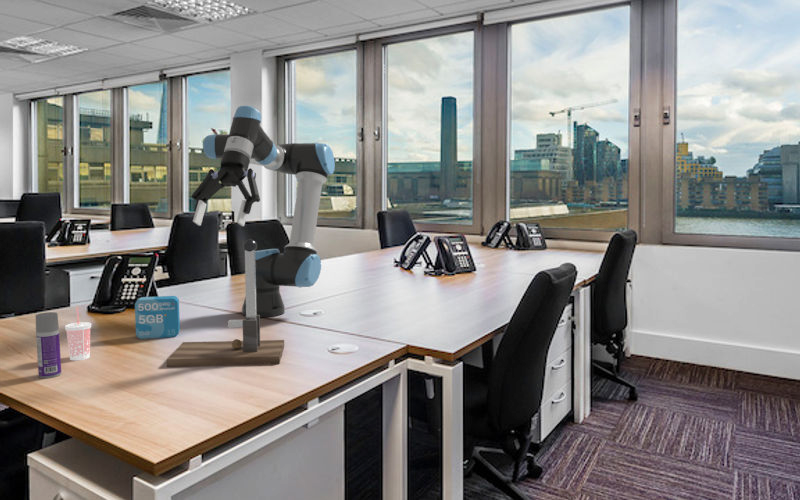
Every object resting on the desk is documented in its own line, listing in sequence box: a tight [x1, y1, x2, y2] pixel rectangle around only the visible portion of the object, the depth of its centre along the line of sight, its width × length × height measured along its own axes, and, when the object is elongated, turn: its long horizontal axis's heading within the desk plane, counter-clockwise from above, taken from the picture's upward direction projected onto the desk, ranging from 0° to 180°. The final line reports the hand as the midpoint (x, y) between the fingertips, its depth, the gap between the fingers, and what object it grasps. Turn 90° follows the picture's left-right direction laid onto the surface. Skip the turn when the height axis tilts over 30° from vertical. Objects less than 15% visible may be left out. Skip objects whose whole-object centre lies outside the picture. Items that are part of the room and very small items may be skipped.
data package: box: [134, 295, 181, 340], centre depth 172 cm, size 12×4×12 cm, turn 108°
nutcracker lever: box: [227, 238, 258, 328], centre depth 151 cm, size 4×8×24 cm, turn 97°
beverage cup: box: [64, 305, 92, 361], centre depth 149 cm, size 6×6×14 cm
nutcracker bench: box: [166, 315, 285, 368], centre depth 152 cm, size 16×28×10 cm, turn 97°
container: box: [35, 311, 62, 379], centre depth 135 cm, size 5×5×15 cm
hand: (218, 224), depth 152 cm, fingers open, 13 cm apart
